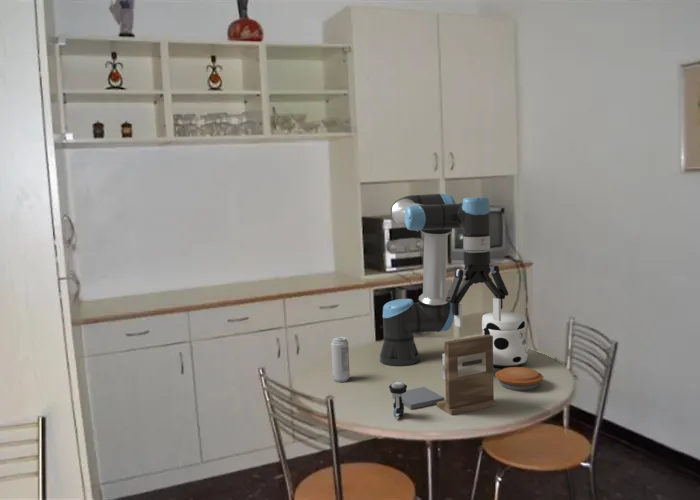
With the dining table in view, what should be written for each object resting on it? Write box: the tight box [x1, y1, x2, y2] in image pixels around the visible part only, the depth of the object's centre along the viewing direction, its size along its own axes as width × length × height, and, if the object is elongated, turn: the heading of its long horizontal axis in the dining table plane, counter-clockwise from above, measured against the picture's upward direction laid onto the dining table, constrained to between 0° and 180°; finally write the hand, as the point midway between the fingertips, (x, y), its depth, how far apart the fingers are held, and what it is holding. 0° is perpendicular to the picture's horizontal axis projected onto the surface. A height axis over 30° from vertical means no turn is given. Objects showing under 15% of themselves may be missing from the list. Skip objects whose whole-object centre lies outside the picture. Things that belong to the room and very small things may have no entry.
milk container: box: [481, 311, 529, 368], centre depth 233 cm, size 17×17×18 cm
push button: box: [388, 380, 408, 420], centre depth 185 cm, size 7×5×10 cm
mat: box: [391, 386, 445, 410], centre depth 199 cm, size 12×12×2 cm
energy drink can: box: [330, 336, 351, 383], centre depth 221 cm, size 6×6×15 cm
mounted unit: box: [436, 335, 497, 416], centre depth 192 cm, size 10×16×22 cm, turn 114°
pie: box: [494, 366, 544, 392], centre depth 209 cm, size 15×16×5 cm
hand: (478, 323), depth 183 cm, fingers open, 13 cm apart
